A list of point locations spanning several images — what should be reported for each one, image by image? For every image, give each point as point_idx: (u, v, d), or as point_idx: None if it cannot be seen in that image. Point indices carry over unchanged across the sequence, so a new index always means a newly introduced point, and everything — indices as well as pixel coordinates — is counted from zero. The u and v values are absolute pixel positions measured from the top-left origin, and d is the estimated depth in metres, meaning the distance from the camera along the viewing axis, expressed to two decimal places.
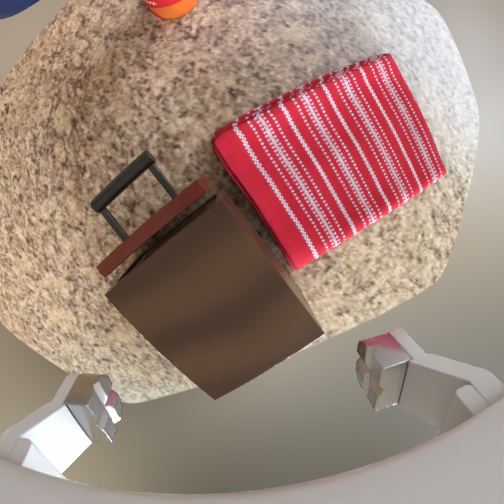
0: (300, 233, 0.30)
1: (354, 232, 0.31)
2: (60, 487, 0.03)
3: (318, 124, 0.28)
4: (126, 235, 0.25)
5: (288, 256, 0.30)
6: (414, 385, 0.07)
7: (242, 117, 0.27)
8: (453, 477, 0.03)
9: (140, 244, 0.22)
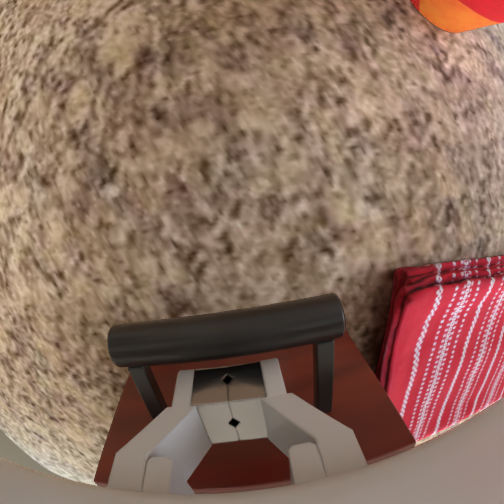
0: None
1: None
2: (60, 487, 0.03)
3: (492, 316, 0.16)
4: None
5: None
6: (272, 424, 0.06)
7: (446, 267, 0.14)
8: (453, 477, 0.03)
9: None
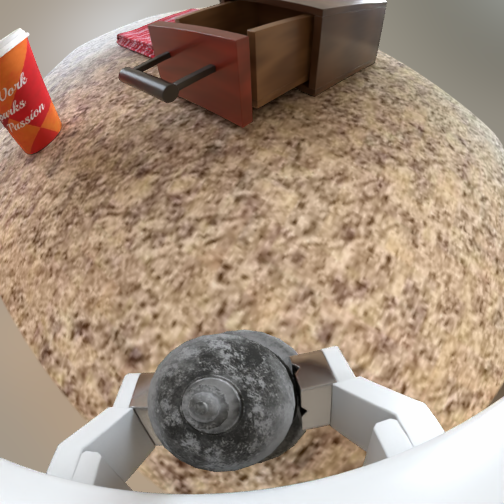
0: None
1: None
2: (60, 487, 0.03)
3: None
4: (207, 66, 0.18)
5: None
6: (341, 409, 0.06)
7: None
8: (453, 477, 0.03)
9: (202, 26, 0.17)
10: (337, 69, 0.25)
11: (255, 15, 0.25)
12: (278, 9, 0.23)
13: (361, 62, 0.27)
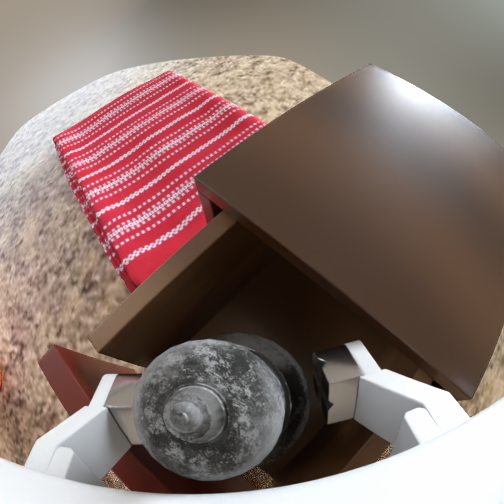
0: None
1: (251, 114, 0.24)
2: (60, 487, 0.03)
3: (125, 177, 0.22)
4: None
5: None
6: (367, 402, 0.07)
7: (115, 263, 0.19)
8: (453, 477, 0.03)
9: None
10: None
11: None
12: None
13: None
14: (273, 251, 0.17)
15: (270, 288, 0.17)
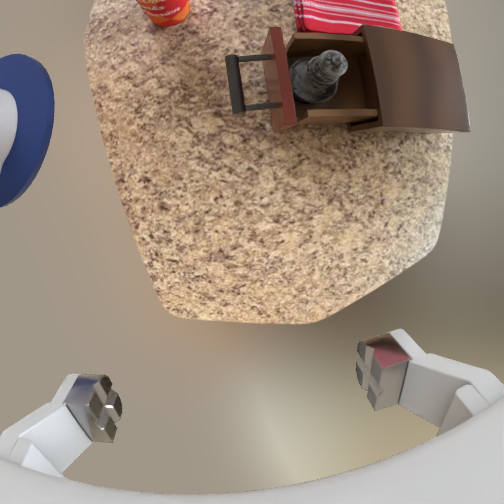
0: None
1: (396, 8, 0.29)
2: (60, 487, 0.03)
3: None
4: (274, 102, 0.29)
5: None
6: (414, 385, 0.07)
7: (296, 12, 0.29)
8: (453, 477, 0.03)
9: (289, 81, 0.26)
10: (380, 131, 0.34)
11: None
12: None
13: (411, 132, 0.35)
14: (353, 56, 0.30)
15: None
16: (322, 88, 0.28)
